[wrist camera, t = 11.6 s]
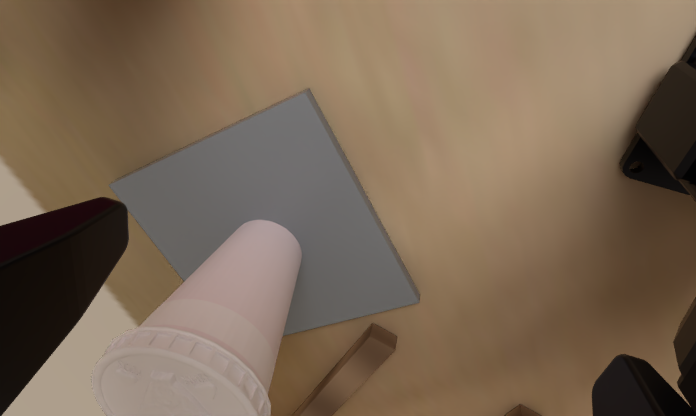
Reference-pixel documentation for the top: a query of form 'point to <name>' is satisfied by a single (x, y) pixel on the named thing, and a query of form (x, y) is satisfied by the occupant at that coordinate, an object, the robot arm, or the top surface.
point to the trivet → (275, 210)
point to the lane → (359, 375)
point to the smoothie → (208, 335)
